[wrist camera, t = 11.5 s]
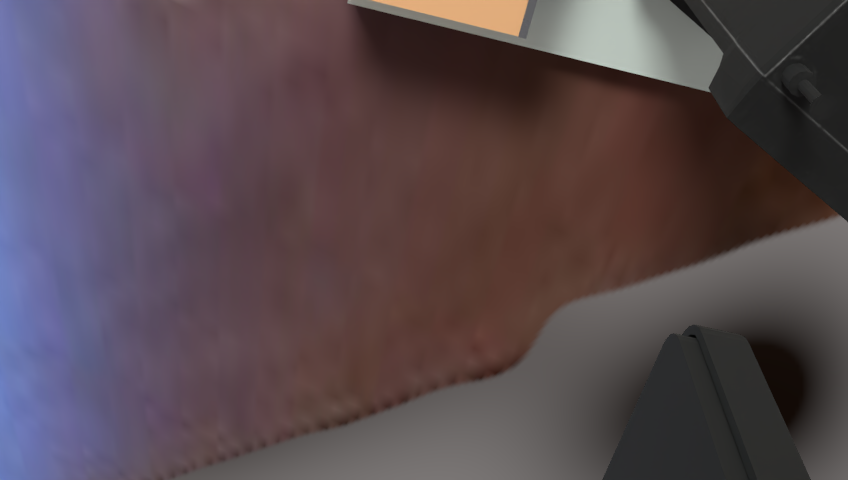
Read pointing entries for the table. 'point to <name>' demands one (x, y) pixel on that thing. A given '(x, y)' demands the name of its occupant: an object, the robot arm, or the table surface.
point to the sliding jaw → (477, 12)
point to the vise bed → (607, 36)
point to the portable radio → (785, 82)
